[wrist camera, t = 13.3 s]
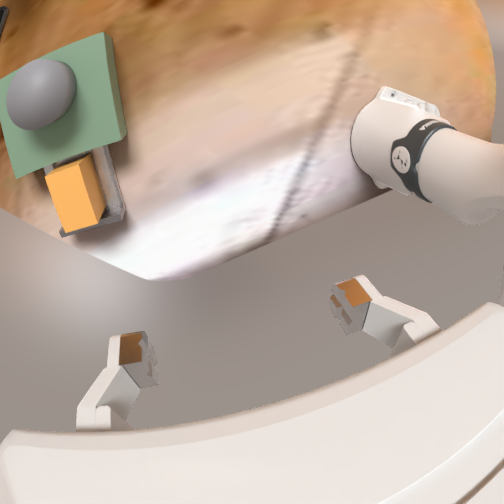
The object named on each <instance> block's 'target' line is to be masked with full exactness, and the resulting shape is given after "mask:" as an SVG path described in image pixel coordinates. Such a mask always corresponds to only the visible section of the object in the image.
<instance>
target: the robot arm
mask: <svg viewBox="0 0 504 504" xmlns="http://www.w3.org/2000/svg"><path fill="white" fill-rule="evenodd" d="M391 94H392V96H391ZM351 147H352V153H353V156H354V159H355V161H356V163H357V164H358V166H359V167H360V168H361V169H362V170H363V171H364V172H365V173H367V174H368V175H369V176H371V178H372V180H373V182H374V184H375V185H376V186H377V187H378V188H380V189H385V188H387V187H390V188H392V189H394V190H396V191H398V192H400V193H402V194H404V195H406V196H409V195H410V194H414V195H415V196H417V197H418V198H420V199H422V200H425V201H427V202H430V203H434V204H436V205H437V206H439V207H440V208H441V209H443V210H444V211H446V212H447V213H449V214H450V215H451V216H453V217H454V218H456V219H457V220H458V221H460V222H461V223H464V224H467V225H478V224H482V223H484V222H486V221H488V220H489V219H490V218H492V217H493V216H494V215H495V214H496V213H497V212H498V210H502V211H504V144H494V143H490V142H487V141H484V140H481V139H478V138H475V137H472V136H469V135H467V134H464V133H461V132H459V131H457V130H456V129H455V128H454V127H452V126H451V125H450V123H449V121H448V120H445V119H443V118H441V117H440V114H439V110H438V108H437V106H435V105H433V104H430V103H427V102H425V101H423V100H420V99H418V98H416V97H413V96H411V95H408V94H406V93H403V92H401V91H398V90H395V89H393V88H390V87H387V86H383V87H382V88H381V89H380V90H379V92H378V93H377V95H376V97H375V99H374V100H373V101H371V102H370V103H369V104H368V105H366V106H365V107H364V108H363V109H362V110H361V112H360V113H359V115H358V116H357V118H356V120H355V123H354V126H353V130H352V135H351ZM331 291H332V292H333V295H332V296H331V298H330V308H331V311H332V313H333V315H334V316H335V318H337V319H339V320H340V326H341V328H342V329H343V331H344V332H345V334H346V335H348V334H351V333H353V332H357V331H359V330H362V329H363V331H365V332H366V333H368V334H370V335H371V336H373V337H375V338H376V339H378V340H380V341H381V342H383V343H385V344H386V345H388V346H390V347H391V348H393V351H392V353H391V355H390V358H389V359H387V360H385V361H383V362H381V363H379V364H376V365H374V366H372V367H370V368H367V369H365V370H363V371H361V372H358V373H356V374H353V375H351V376H349V377H346V378H344V379H341V380H338V381H336V382H333V383H331V384H328V385H326V386H323V387H320V388H317V389H314V390H312V391H309V392H306V393H303V394H300V395H297V396H294V397H291V398H288V399H284V400H281V401H278V402H274V403H271V404H267V405H264V406H260V407H256V408H253V409H249V410H245V411H241V412H237V413H233V414H228V415H224V416H219V417H215V418H210V419H205V420H200V421H195V422H189V423H182V424H176V425H169V426H162V427H154V428H146V429H136V430H135V429H134V428H133V427H131V426H130V425H129V424H128V423H127V422H126V419H127V417H128V415H129V413H130V410H131V408H132V406H133V404H134V402H135V400H136V397H137V395H138V394H139V392H140V388H145V387H151V386H156V385H158V374H157V371H156V369H155V368H154V367H155V366H156V364H157V359H156V354H155V350H154V347H153V345H152V343H150V342H148V337H147V335H146V333H145V331H140V332H134V333H128V334H122V335H116V336H111V338H110V341H109V351H108V362H107V368H104V369H103V370H102V372H101V374H100V375H99V376H98V378H97V379H96V381H95V382H94V383H93V385H92V386H91V388H90V389H89V391H88V392H87V393H86V395H85V396H84V398H83V399H82V401H81V402H80V404H79V405H78V407H77V422H76V432H50V431H33V430H24V429H14V430H12V431H11V432H10V433H9V434H8V435H7V437H6V438H5V439H4V440H3V442H2V443H1V444H0V504H504V267H503V273H502V280H501V287H500V294H499V300H500V305H498V304H495V303H492V302H487V303H484V304H483V305H481V306H480V307H478V308H477V309H475V310H474V311H472V312H471V313H469V314H468V315H466V316H465V317H463V318H461V319H460V320H458V321H457V322H455V323H453V324H452V325H450V326H448V327H447V328H445V329H444V330H441V329H440V328H439V327H438V326H437V324H436V323H435V322H434V321H433V319H432V318H431V317H430V316H429V315H428V314H427V313H426V312H423V311H421V310H418V309H416V308H414V307H411V306H409V305H406V304H404V303H401V302H399V301H397V300H394V299H391V298H389V297H387V296H384V297H382V295H381V294H380V293H379V292H378V291H377V289H376V288H375V287H374V286H373V285H372V284H371V283H370V281H369V280H368V279H367V278H366V277H365V276H364V275H360V276H356V277H353V278H350V279H347V280H343V281H340V282H337V283H334V284H333V285H332V288H331Z"/></svg>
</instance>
